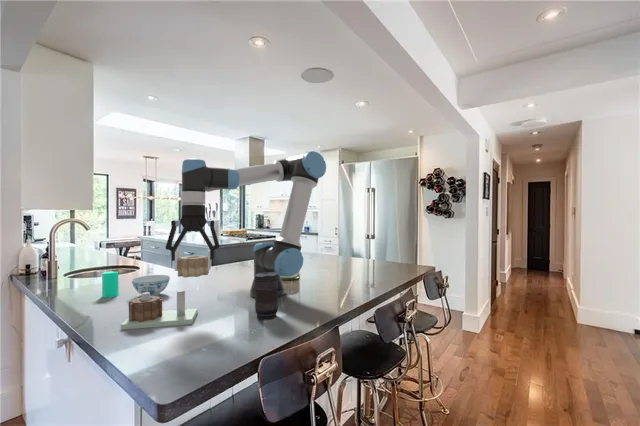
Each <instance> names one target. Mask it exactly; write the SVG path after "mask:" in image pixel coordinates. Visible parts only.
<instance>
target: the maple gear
mask: <svg viewBox="0 0 640 426" xmlns="http://www.w3.org/2000/svg"><path fill="white" fill-rule="evenodd" d="M209 272H210V270H208V256H206V255H186V256H182V257H179V259H178V271H177V277H178V278H181V277H183V278H194V277H195V278H199V277H202V276H208V275H209Z"/></svg>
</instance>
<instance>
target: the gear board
mask: <svg viewBox="0 0 640 426" xmlns="http://www.w3.org/2000/svg"><path fill="white" fill-rule="evenodd" d="M140 297H141V301H147V300H150V292H146V293H142V294H140ZM198 309H199V308H187V309H186V291H185V290H177V291H176V309H169V310H162V316H161V317H157V318H156V319H155V320H147V321H144V322H139V321H133V322H131V321H130V319H129V317H128V318H126V319H125V321H123V322H122V323H121V324H120V330H133V329H134V330H135V329H146V328H157V327H172V326H173V327H174V326H186V325H193V322H194V321H195V319H196V317H197V315H198V311H199V310H198Z"/></svg>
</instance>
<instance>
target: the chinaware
mask: <svg viewBox="0 0 640 426" xmlns="http://www.w3.org/2000/svg"><path fill="white" fill-rule="evenodd" d="M170 280H171V276H170V275H167V274H153V275H143V276H137V277H134V278H132V279H131V284H132V286H133V288H134V290H135V291H136V292H137V293H139V294H140V295H141V294H142V293H146V292H150V296H158V297H160V295H161V293H162V292H163V291H164V290H165V289H166V288H167V286H168V285H169V282H170Z"/></svg>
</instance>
